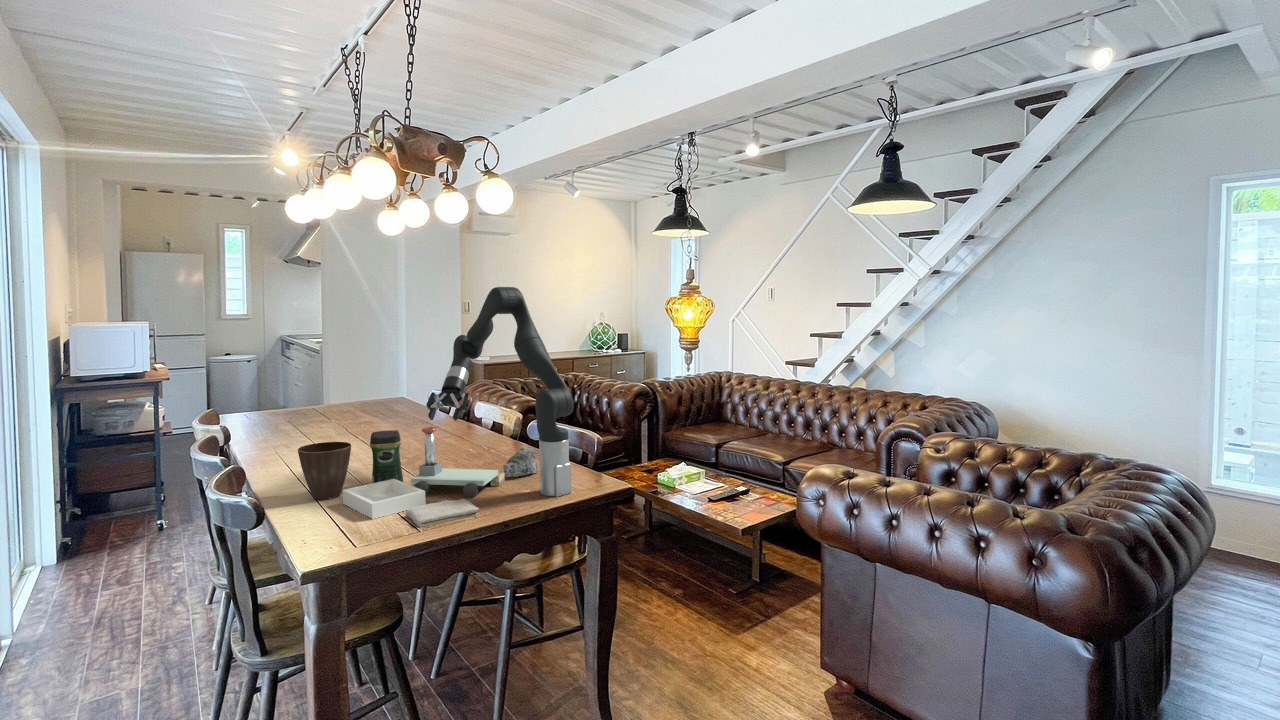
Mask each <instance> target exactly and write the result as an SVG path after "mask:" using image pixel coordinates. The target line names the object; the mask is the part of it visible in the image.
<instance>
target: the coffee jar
mask: <svg viewBox="0 0 1280 720" xmlns="http://www.w3.org/2000/svg"><path fill="white" fill-rule="evenodd" d="M370 434H371V435H370V438H369V439H370V441H369V447H370V449H371V453H372V474H371V476H372V477H371V484H372V483H377V482H381V481H386V480H390V479H396V480H399V481H401V482H404V476H403V469H402V463H401V455H400V454H401V453H400V447H401V444H402V439H401V436H400V432H399V430H397V429H395V430H391V429H389V430H379V431H373V432H371V433H370Z"/></svg>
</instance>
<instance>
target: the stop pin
mask: <svg viewBox="0 0 1280 720" xmlns="http://www.w3.org/2000/svg"><path fill="white" fill-rule="evenodd" d="M436 431H437V427H435V426H427V427H423V428H421V432H423V433H424V434H423V435H424V436H423V437H424V456H425V457H424V460H425V463H424V464H425V465H426V466H434V465H435V463H436V451H435V449H436V447H435V432H436Z"/></svg>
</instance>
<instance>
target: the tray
mask: <svg viewBox="0 0 1280 720" xmlns="http://www.w3.org/2000/svg"><path fill="white" fill-rule="evenodd" d="M343 504H345V505H347V506H349V507H351V508H353V509H355V510H357V511H358V512H357V511H356V512H357V513H359V512H360V513H359V514H361V513H362V514H361V515H363V514H364V515H363V516H365V515H366V516H365V517H367V516H368V517H370V518H372V519H373V520H375V519H374V518H377V519H379V518H378V517H381V518H383V517H382V516H385V517H387V516H386V515H388V516H391V515H390V514H392V515H394V514H393V513H396V514H398V512H400V513H403V512H402V511H404V512H406V510H408V509H410V508H412V507H418V506H422V505H426V504H427V502H426V494H425V491H424V490H421V489H419V488H416V487H415V485H411V484H408V483H406V482H404V481H403V482H401V481H399V480H396V479H390V480H386V481H381V482H377V483H372V482H371V483H369V484H364V485H359V486H356V487H355V486H354V487H349V488H346V489H342V505H343ZM345 505H344V506H345ZM347 506H346V507H347ZM349 507H348V508H349ZM351 508H350V509H351ZM353 509H352V510H353ZM355 510H354V511H355ZM368 517H367V518H368ZM370 518H369V519H370ZM372 519H371V520H372Z"/></svg>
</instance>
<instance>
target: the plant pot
mask: <svg viewBox="0 0 1280 720" xmlns="http://www.w3.org/2000/svg"><path fill="white" fill-rule="evenodd" d="M351 450H352V444H351V443H350V442H345V441H326V442H325V441H324V442H315V443H310V444H306V445H303V446H299V448H297V454H298V458H299V463H300V467H301V470H302V473H303V476H304V479H305V482H306V485H307V487H308V488H309V489H308V490H309V492H310V494H311V495H312V497H313V499H314V498H315V499H314V500H316V499H327V500H330V499H329V498H333V499H335V498H334V497H336V498H338V497H340V496H341V492H343V488H344V484H345V482H346V481H345V480H346V477H347V473H348V470H349V465H350V459H351V452H352V451H351ZM337 496H338V497H337Z"/></svg>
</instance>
